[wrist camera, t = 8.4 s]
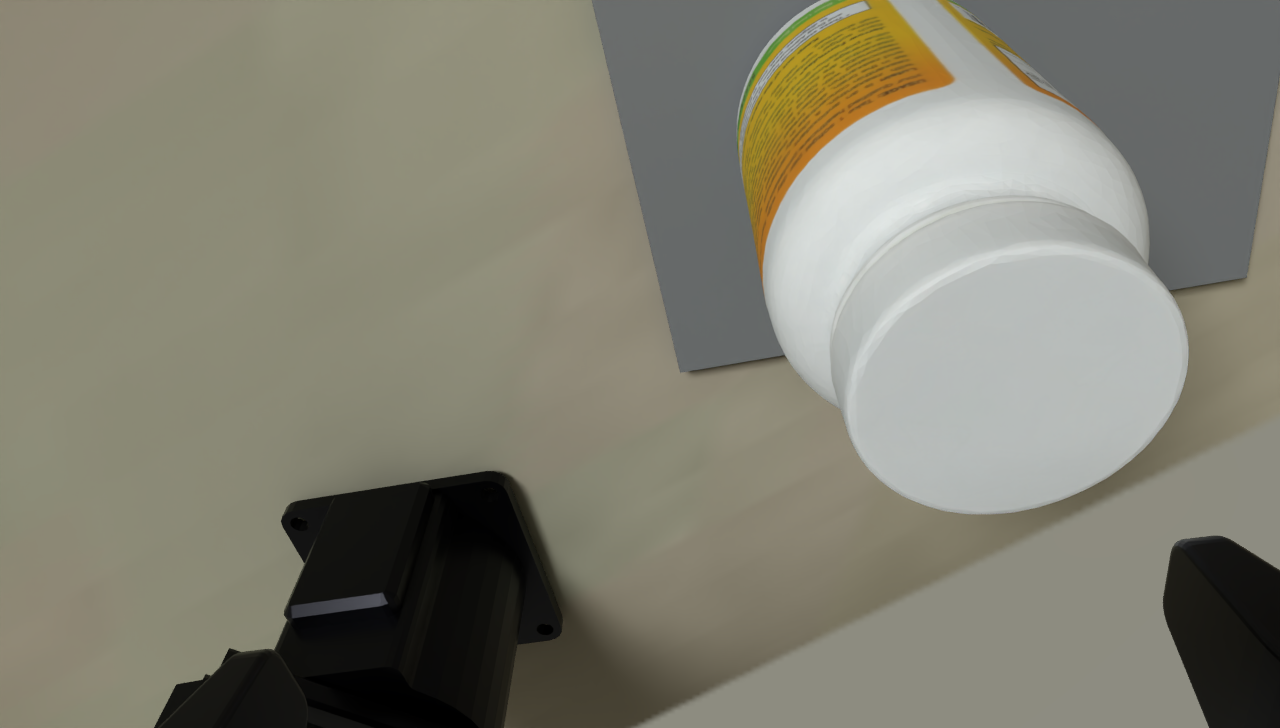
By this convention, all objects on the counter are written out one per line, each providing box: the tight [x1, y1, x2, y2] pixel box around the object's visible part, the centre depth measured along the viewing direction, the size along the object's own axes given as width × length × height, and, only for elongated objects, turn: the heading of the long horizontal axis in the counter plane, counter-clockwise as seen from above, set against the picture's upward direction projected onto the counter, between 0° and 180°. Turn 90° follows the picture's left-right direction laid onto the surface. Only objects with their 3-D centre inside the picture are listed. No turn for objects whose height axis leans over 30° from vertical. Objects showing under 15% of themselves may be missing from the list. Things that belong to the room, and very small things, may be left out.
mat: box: [592, 0, 1280, 373], centre depth 19 cm, size 11×13×1 cm
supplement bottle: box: [737, 0, 1189, 514], centre depth 15 cm, size 5×5×10 cm
